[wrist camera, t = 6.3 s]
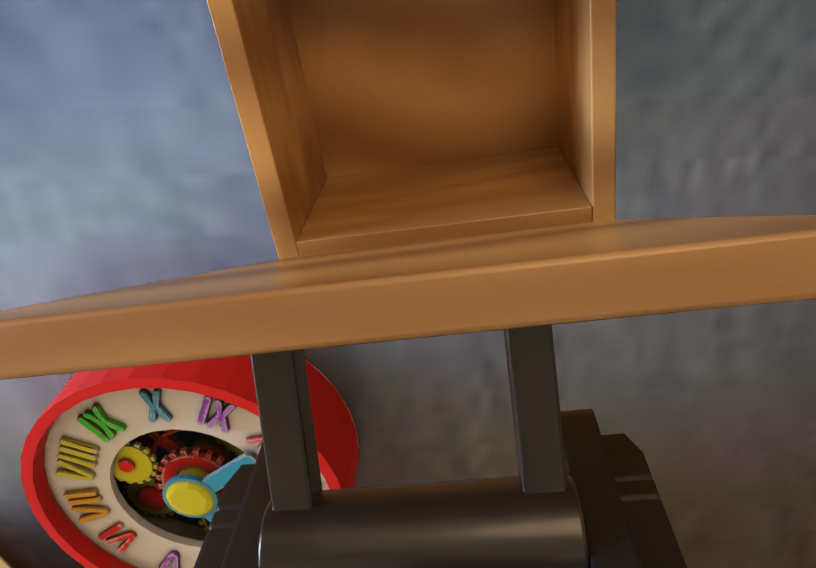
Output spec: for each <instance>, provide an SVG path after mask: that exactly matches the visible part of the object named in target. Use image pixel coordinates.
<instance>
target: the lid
mask: <svg viewBox="0 0 816 568" xmlns="http://www.w3.org/2000/svg"><path fill="white" fill-rule="evenodd" d="M815 298H816V215H792V216H747V217H702V218H657V219H615V220H607V221H598V222H590V223H581V224H573V225H564V226H556V227H547V228H539V229H530V230H522V231H513V232H505V233H496V234H488V235H479V236H471V237H462V238H454V239H445V240H437V241H428V242H420V243H411V244H403V245H394V246H386V247H377V248H369V249H360V250H352V251H343V252H335V253H326V254H318V255H309V256H301V257H292V258H284V259H276V260H271V261H265V262H260V263H255V264H249V265H244V266H238V267H233V268H228V269H222V270H217V271H212V272H206V273H201V274H195V275H190V276H185V277H179V278H174V279H169V280H163V281H158V282H153V283H147V284H142V285H136V286H131V287H126V288H120V289H115V290H110V291H104V292H99V293H93V294H88V295H83V296H77V297H72V298H67V299H61V300H56V301H50V302H45V303H40V304H34V305H29V306H24V307H18V308H13V309H7V310H2V311H0V380H4V379H14V378H24V377H34V376H44V375H54V374H64V373H74V372H84V371H94V370H104V369H114V368H124V367H134V366H144V365H154V364H164V363H174V362H184V361H194V360H204V359H214V358H224V357H234V356H244V355H250V356H251V363H252V370H253V377H254V384H255V391H256V398H257V405H258V412H259V419H260V426H261V433H262V440H263V447H264V454H265V461H266V468H267V475H268V482H269V489H270V496H271V500H270V501H269V503H268V505H267V507H266V509H265V512H264V515H263V519H262V523H261V528H260V534H259V544H258V568H590V557H589V547H588V540H587V533H586V526H585V520H584V515H583V510H582V505H581V500H580V496H579V492H578V488H577V485H576V482H575V480H574V478H573V476H572V474H570V473H567V472H566V463H565V453H564V443H563V433H562V423H561V413H560V404H559V394H558V384H557V374H556V364H555V354H554V344H553V334H552V325H555V324H565V323H575V322H585V321H595V320H605V319H615V318H625V317H635V316H645V315H655V314H665V313H675V312H685V311H695V310H705V309H715V308H725V307H735V306H745V305H755V304H765V303H775V302H785V301H795V300H805V299H815ZM495 330H504V338H505V347H506V357H507V366H508V375H509V384H510V394H511V403H512V412H513V422H514V431H515V440H516V449H517V459H518V468H519V476H510V477H497V478H483V479H469V480H455V481H442V482H428V483H414V484H400V485H387V486H373V487H359V488H345V489H332V490H323V489H322V482H321V474H320V467H319V460H318V452H317V445H316V437H315V430H314V423H313V415H312V408H311V401H310V393H309V386H308V378H307V371H306V364H305V356H304V349H314V348H324V347H334V346H344V345H354V344H364V343H374V342H385V341H395V340H405V339H415V338H425V337H435V336H445V335H455V334H465V333H475V332H485V331H495Z"/></svg>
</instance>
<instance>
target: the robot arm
mask: <svg viewBox="0 0 816 568" xmlns="http://www.w3.org/2000/svg"><path fill="white" fill-rule="evenodd" d="M560 413H561V423H562V433H563V443H564V453H565V463H566V472H567V473H570V474H572V476H573V478H574V480H575V482H576V485H577V488H578V492H579V496H580V500H581V505H582V510H583V515H584V520H585V526H586V533H587V540H588V547H589V557H590V568H687V567H686V564H685V562H684V559H683V556H682V554H681V551H680V548H679V546H678V543H677V541H676V538H675V535H674V533H673V530H672V528H671V525H670V522H669V520H668V517H667V514H666V512H665V509H664V507H663V504H662V501H661V500H660V499H659V494H658V491H657V488H656V486H655V483H654V480H652V475H651V473H650V470H649V467H648V465H647V462H646V460H645V457H644V454H643V452H642V451H641V450H640V449H639V448H638V447H637V446H636V445H635V444H634V443H633V442H632V441H631V440H630V439H629V438H628V437H627V436H626V435H625V434H613V435H601V434H600V430H599V427H598V424H597V421H596V418H595V415H594V412H593V410H592V409H584V410H573V411H561V412H560ZM270 500H271V496H270V489H269V482H268V475H267V468H266V461H265V454H264V447H263V443H262V445H261V448H260V451H259V454H258V457H257V460H256V463H255V464H245V465H241V466H240V467H239V469H238V470H237V471H236V472H235V473H234V475H233V476H232V477H231V478H230V479H229V481H228V482H227V483H226V484H225V486H224V488H223V491H222V494H221V496H220V499H219V502H218V504H217V507H216V512H214V515H213V517H212V520H211V523H210V525H209V531H207V533H206V536H205V539H204V541H203V544H202V546H201V549H200V552H199V554H198V557H197V560H196V562H195V565H194V568H258V544H259V534H260V528H261V523H262V519H263V515H264V512H265V509H266V507H267V505H268V503H269V501H270Z"/></svg>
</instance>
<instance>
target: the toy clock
mask: <svg viewBox="0 0 816 568" xmlns="http://www.w3.org/2000/svg"><path fill="white" fill-rule="evenodd" d="M305 364H306V371H307V378H308V386H309V393H310V401H311V408H312V415H313V423H314V430H315V437H316V445H317V452H318V460H319V467H320V474H321V482H322V489H323V490H332V489H345V488H354V484H355V478H356V472H357V466H358V457H359V443H358V435H357V429H356V426H355V423H354V421H353V418H352V415H351V412H350V410H349V408H348V406H347V405H346V403H345V401H344V400H343V398H342V396H341V395H340V393H339V391H338V390H337V389H336V388H335V387H334V386H333V384H332V383H331V382H330V381H329V380H328V379H327V377H326V376H325V375H324V374H323V373H322V372H321V371H320V370H319V369H317V368H316V367H315V366H314V365H313V364H311V363H310V362H309V361H308V360H307V359H305ZM262 443H263V440H262V433H261V426H260V419H259V412H258V405H257V398H256V391H255V384H254V377H253V370H252V363H251V356H250V355H244V356H234V357H224V358H214V359H204V360H194V361H184V362H174V363H164V364H154V365H144V366H134V367H124V368H114V369H104V370H94V371H84V372H77V373H76V374H75V375H74V376H73V378H72V379H71V380H70V381H69V382H68V384H67V385H66V386H65V387H64V388H63V390H62V391H61V392H60V393H59V394H58V396H57V397H56V398H55V399H54V400H53V402H52V403H51V404H50V405H49V406H48V408H47V409H46V410H45V411H44V412H43V414H42V415H41V416H40V417H39V418H38V420H37V421H36V423H35V424H34V426H33V428H32V429H31V431H30V433H29V434H28V436H27V438H26V441H25V444H24V448H23V452H22V455H21V479H22V483H23V487H24V491H25V495H26V498H27V500H28V502H29V504H30V507H31V509H32V511H33V513H34V515H35V517H36V518H37V520H38V521H39V522H40V524H41V525H42V526H43V528H44V529H45V530H46V532H47V533H48V535H49V536H50V537H51V538H52V539H53V540H54V541H55V542H56V543H57V544H58V545H59V546H60V547H61V548H62V549H63V550H64V551H65V552H66V553H67V554H69V555H70V556H71V557H72V558H74V559H75V560H76V561H78V562H79V563H80V564H81V565H83V566H84V567H85V568H194V565H195V562H196V560H197V557H198V554H199V552H200V549H201V546H202V544H203V541H204V539H205V536H206V533H207V531H209V525H210V523H211V520H212V517H213V515H214V512H216V507H217V504H218V502H219V499H220V496H221V494H222V491H223V488H224V486H225V484H226V483H227V482H228V481H229V479H230V478H231V477H232V476H233V475H234V473H235V472H236V471H237V470H238V469H239V467H240V466H241V465H245V464H255V463H256V460H257V457H258V454H259V451H260V448H261V445H262Z"/></svg>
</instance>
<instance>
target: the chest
mask: <svg viewBox="0 0 816 568" xmlns="http://www.w3.org/2000/svg"><path fill="white" fill-rule="evenodd" d="M207 3H208V7H209V10H210V14H211V17H212V21H213V25H214V28H215V32H216V35H217V39H218V42H219V46H220V50H221V53H222V57H223V60H224V64H225V67H226V71H227V75H228V78H229V82H230V85H231V89H232V92H233V96H234V100H235V103H236V107H237V110H238V114H239V117H240V121H241V125H242V128H243V132H244V135H245V139H246V142H247V146H248V150H249V153H250V157H251V160H252V164H253V167H254V171H255V175H256V178H257V182H258V185H259V189H260V192H261V196H262V200H263V203H264V207H265V210H266V214H267V217H268V221H269V225H270V228H271V232H272V235H273V239H274V242H275V246H276V250H277V253H278V257H279V259H284V258H292V257H301V256H309V255H318V254H326V253H335V252H343V251H352V250H360V249H369V248H377V247H386V246H394V245H403V244H411V243H420V242H428V241H437V240H445V239H454V238H462V237H471V236H479V235H488V234H496V233H505V232H513V231H522V230H530V229H539V228H547V227H556V226H564V225H573V224H581V223H590V222H598V221H607V220H615V185H616V30H617V0H207Z"/></svg>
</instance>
